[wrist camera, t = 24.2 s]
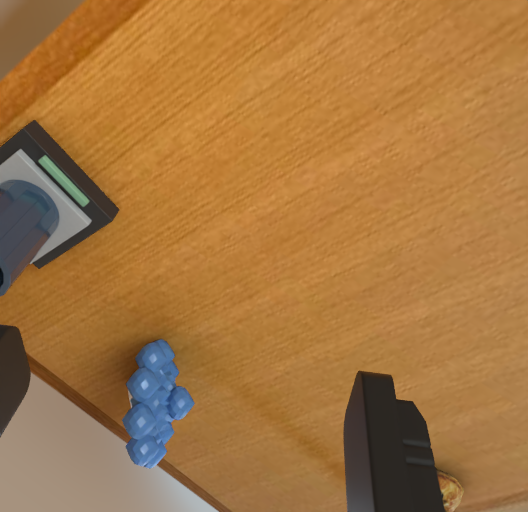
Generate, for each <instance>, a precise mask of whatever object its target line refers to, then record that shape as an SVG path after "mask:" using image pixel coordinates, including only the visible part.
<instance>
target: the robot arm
mask: <svg viewBox="0 0 528 512" xmlns="http://www.w3.org/2000/svg"><path fill="white" fill-rule="evenodd" d="M29 382H30V367H29V363H28V360H27V356H26V352H25V349H24V345H23V341H22V338H21V334H20V331H19V329H18V328H17V327H15V326H8V325H0V437H1V435H2V433H3V432H4V430H5V428H6V427H7V425H8V423H9V421H10V420H11V418H12V416H13V415H14V413H15V412H16V410H17V408H18V407H19V405H20V403H21V402H22V400H23V398H24V396H25V395H26V392H27V390H28V387H29ZM430 445H431V443H430V438H429V434H428V429H427V424H426V421H425V420H424V418H423V417H422V415H421V413H420V412H419V410H418V409H417V407H416V406H415V404H414V403H413V401H405V400H398V399H396V395H395V389H394V383H393V378H392V376H391V375H388V374H380V373H372V372H364V371H358V373H357V375H356V378H355V382H354V385H353V389H352V392H351V396H350V399H349V402H348V406H347V409H346V414H345V420H344V456H345V476H346V495H347V512H445V508H444V504H443V499H442V494H441V490H440V485H439V480H438V476H437V471H436V467H434V463H435V462H434V457H433V452H432V449H431V448H430Z"/></svg>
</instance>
